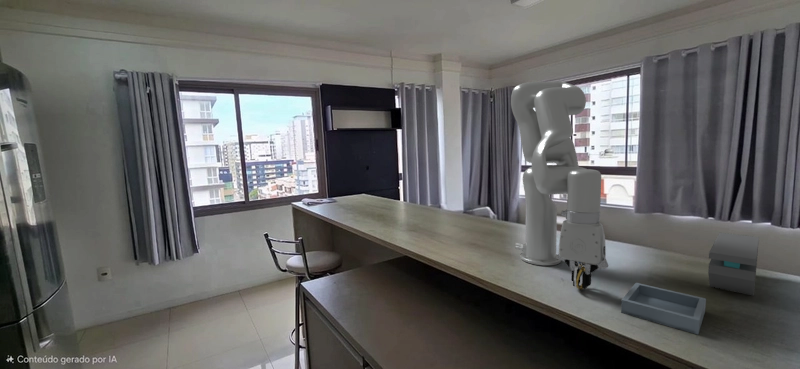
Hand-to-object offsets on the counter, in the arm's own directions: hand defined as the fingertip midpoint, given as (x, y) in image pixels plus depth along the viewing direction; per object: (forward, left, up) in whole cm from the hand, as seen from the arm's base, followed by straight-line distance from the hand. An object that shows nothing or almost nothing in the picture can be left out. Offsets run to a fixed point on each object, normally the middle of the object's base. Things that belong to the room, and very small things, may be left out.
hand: (581, 285), depth 86 cm
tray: (+17, 0, -1) cm, 17 cm away
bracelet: (0, 0, -1) cm, 1 cm away
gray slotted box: (+27, +30, -1) cm, 40 cm away
